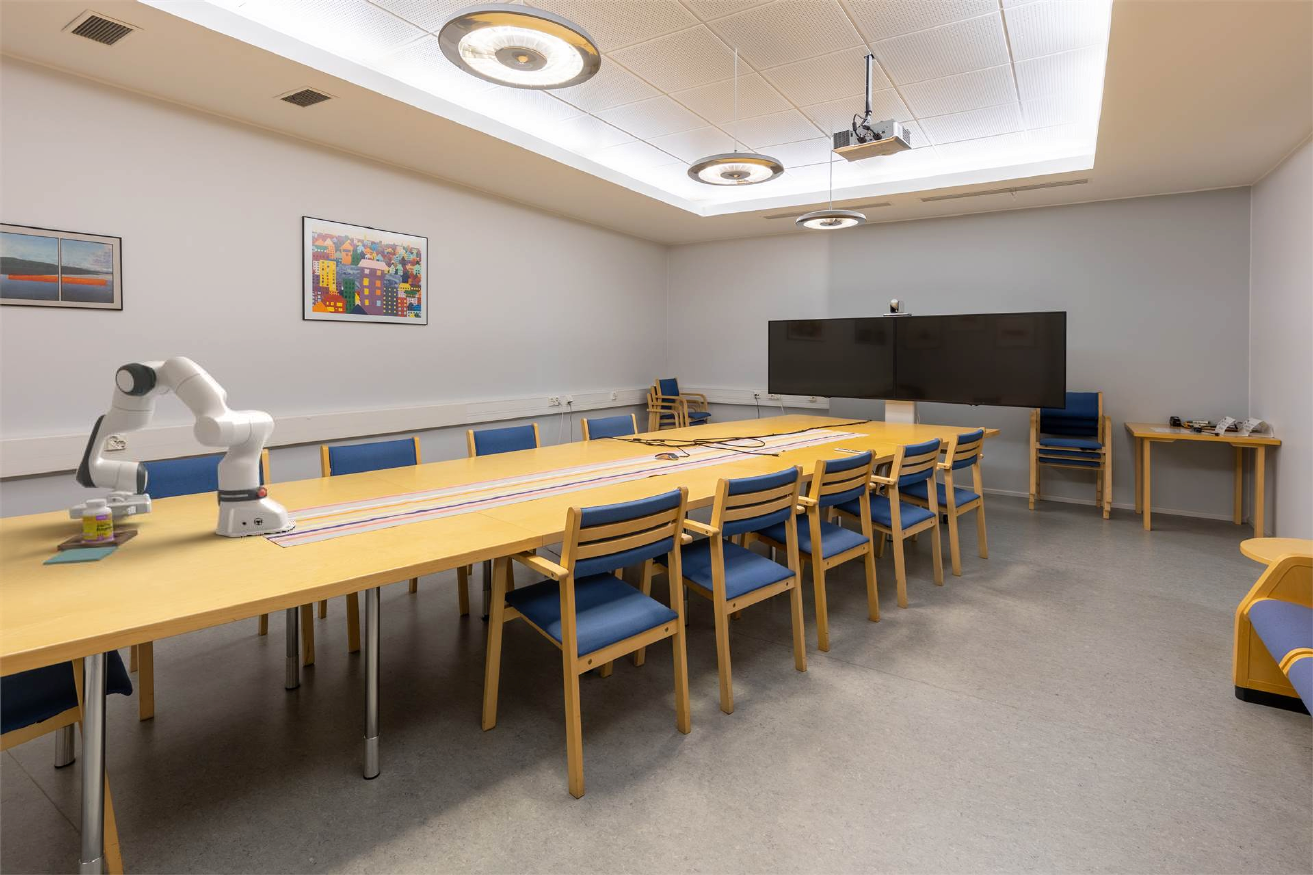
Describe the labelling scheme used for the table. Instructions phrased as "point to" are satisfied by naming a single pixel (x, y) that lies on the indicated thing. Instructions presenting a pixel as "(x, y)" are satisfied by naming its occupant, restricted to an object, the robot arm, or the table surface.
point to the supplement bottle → (97, 521)
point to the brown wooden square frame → (78, 544)
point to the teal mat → (81, 555)
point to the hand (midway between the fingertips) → (106, 514)
